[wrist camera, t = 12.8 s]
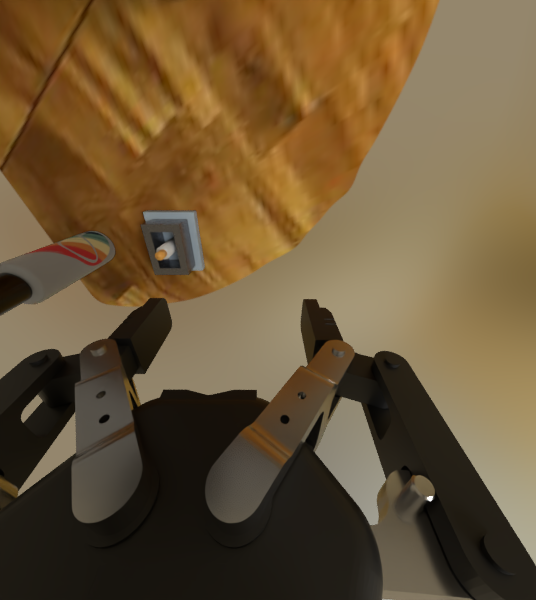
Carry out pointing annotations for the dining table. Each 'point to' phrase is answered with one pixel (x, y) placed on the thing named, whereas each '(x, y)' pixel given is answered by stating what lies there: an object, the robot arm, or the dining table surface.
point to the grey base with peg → (169, 246)
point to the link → (182, 240)
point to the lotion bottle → (51, 268)
